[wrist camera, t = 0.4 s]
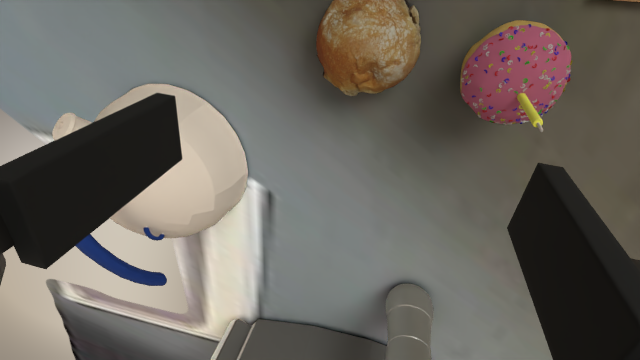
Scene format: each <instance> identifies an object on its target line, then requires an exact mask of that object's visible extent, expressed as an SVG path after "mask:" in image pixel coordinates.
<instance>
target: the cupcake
mask: <svg viewBox="0 0 640 360" xmlns="http://www.w3.org/2000/svg"><path fill="white" fill-rule="evenodd" d="M571 64H572V61H571V53H570V50H569V47H568V46H567V42H566V41H565V42H564V41H563V40H562V38H561V37H560V36H559V34H558V33H556V32H555V31H554V30H552V29H551V28H549V27H548V26H546V25H544V24H542V23H538V22H531V21H525V20H517V21H512V22H509V23H506V24H503V25H501V26H500V27H498V28H496V29H494V30H493V31H491V32H490V33H489V34H487V35H486V36H485V37H484V38H483V39H481V40H480V41H479V42H477V43H476V44H474V45H473V46H472V47H471V48H470V50H469V51H468V53H467V54H466V56H465V58H464V61H463V64H462V69H461V79H460V92H461V95H462V98H463V99H464V101H465V102H466V103H467V104H468V105H469V106H470V107H471V108H472V109H473V110H474V112H475V113H476V114H477V115H478V117H479V118H482V119H484V120H487V121H490V122H492V123H500V124H505V125H507V124H508V125H511V124H514V123H520V124H522V123H524V122H529V120H530V121H531V123H532V125H533V126H534V127H538V128H539V130H540V132H543V128H542V127H541V125H542V124H543V121H542V119H541V117H542V116H543V113H547V112H548V109H550V108H553V107H554V104H555V103H556V101H557V100H558V98H559V97H560V95H561V94H562V92H564V91H565V86H566V84H567V82H569V81H570V71H571V70H570V65H571ZM563 90H564V91H563ZM552 106H553V107H552ZM540 115H541V117H540Z"/></svg>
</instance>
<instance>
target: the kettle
mask: <svg viewBox="0 0 640 360" xmlns="http://www.w3.org/2000/svg"><path fill="white" fill-rule="evenodd" d="M155 93H162V94H168V95H173V96H175V98H176V107H177V116H178V125H179V133H180V142H181V151H182V160H181V161H180V162H178V163H177V164H176V165H175V166H173V167H172V168H171V169H170V170H168V171H167V172H166V173H165V174H163V175H162V176H161V177H160V178H159V179H157V180H156V181H155V182H154V183H152V184H151V185H150V186H149V187H147V188H146V189H145V190H144V191H142V192H141V193H140V194H139V195H137V196H136V197H135V198H134V199H132V200H131V201H130V202H129V203H127V204H126V205H125V206H124V207H123V208H121V209H120V210H119V211H118V212H116V213H115V214H114V215H113V216H111V217H110V218H111V219H112V220H113V221H114V222H116V223H117V224H119V225H121V226H123V227H125V228H127V229H129V230H131V231H133V232H136V233H139V234H142V235H145V236H148V237H149V238H150V239H152V240H161V239H163V238H179V237H187V236H190V235H193V234H195V233H198V232H200V231H202V230H205V229H207V228H209V227H211V226H213V225H215V224H216V223H217V222H218V221H219V220H220V219H221V218H222V217H223V216H224V215H225V214H226V213H227V212H228V211H230V210H231V209H232V208H233V207H234V206H235V205H236V204H237V203H238V202H239V201H240V199H241V197H242V195H243V193H244V191H245V189H246V184H247V176H248V169H247V163H246V156H245V152H244V150H243V148H242V145H241V143H240V141H239V138H238V136H237V134H236V133H235V131H234V130H233V129H232V127H231V126H230V125H229V123H228V122H227V120H226V119H225V118H224V116H222V115H221V114H220V113H219V112H218V111H217V110H216V109H215V108H214V107H213V106H211V105H210V104H209V103H208V102H207V101H205V100H204V99H202V98H200V97H198V96H197V95H195V94H193V93H191V92H190V91H188V90H185V89H182V88H178V87H175V86H172V85H168V84H146V85H143V86H140V87H137V88H134V89H132V90H130V91H129V92H128V93H126V94H125V95H123V96H122V97H120V98H118V99H117V100H115V101H113V102H112V103H111V104H109V105H108V106H107V107H106V108H104V109H103V110H102V111H101V112H100V113H99V115H98V116H97V118H96V119H95V121H98V120H100V119H102V118H104V117H106V116H108V115H110V114H112V113H115V112H117V111H119V110H121V109H123V108H125V107H127V106H129V105H132V104H134V103H136V102H138V101H140V100H142V99H144V98H146V97H149V96H151V95H153V94H155ZM95 121H94V122H95ZM91 123H92V122H90V121H87V120H85V119H82V118H80V117H77V116H75V114H74V113H66V114H64V115H63V116H61V117H60V119H59V120H58V121H57V123H56V125H55V127H54V129H53V134H52V136H53V139H54V140H57V139H59V138H61V137H64V136H66V135H68V134H70V133H72V132H74V131H76V130H78V129H81V128H83V127H85V126H87V125H89V124H91ZM75 246H76V247H77V248H78V249H79V250H80V251H82V252H83V253H84V254H85V255H86V256H88V257H89V258H91V259H92V260H94V261H95V262H96V263H98V264H99V265H101V266H102V267H103V268H105V269H107V270H109V271H110V272H113V273H114V274H116V275H118V276H120V277H122V278H124V279H127V280H130V281H133V282H135V283H139V284H145V285H149V286H163V285H165V284H166V282H167V279H166V277H165V275H164V274H162V273H160V272H150V271H145V270H141V269H139V268H136V267H134V266H132V265H129V264H128V263H126V262H124V261H122V260H121V259H119V258H117V257H116V256H114V255H113V254H112V253H110V252H109V251H108V250H106V249H105V248H104V247H102V246H101V245H100V244H99V243H98V242H97V241H96V240H95V239H94V238H93V237H92V236H91V234H89V235H88V236H86V237H85V238H84V239H83V240H82V241H80V242H79V243H78V244H77V245H75Z"/></svg>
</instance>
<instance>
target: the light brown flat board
mask: <svg viewBox="0 0 640 360" xmlns="http://www.w3.org/2000/svg"><path fill="white" fill-rule="evenodd" d="M615 1H630V2H640V0H615Z"/></svg>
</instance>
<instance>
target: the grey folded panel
mask: <svg viewBox="0 0 640 360" xmlns="http://www.w3.org/2000/svg"><path fill="white" fill-rule="evenodd" d="M386 349H387V346H385V345H382V344H380V343H377V342H375V341H372V340H368V339H364V338H360V337H356V336H352V335H348V334H344V333H340V332H336V331H332V330H328V329H324V328H320V327H316V326H311V325H303V324H294V323H286V322H278V321H270V320H262V319H257V321H256V322H255V323H254V324H253V325H252V326H250V325H249V324H247V323H245V322H243V321H242V320H240V319H234V320H232V321H231V322H230V323H229V325H228V327H227V329H226V331H225V333H224V334H223V336H222V338H221V340H220V342H219V344H218V346H217V348H216V350H215V352H214V354H213V355H212V357H211V359H210V360H385V357H386Z"/></svg>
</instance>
